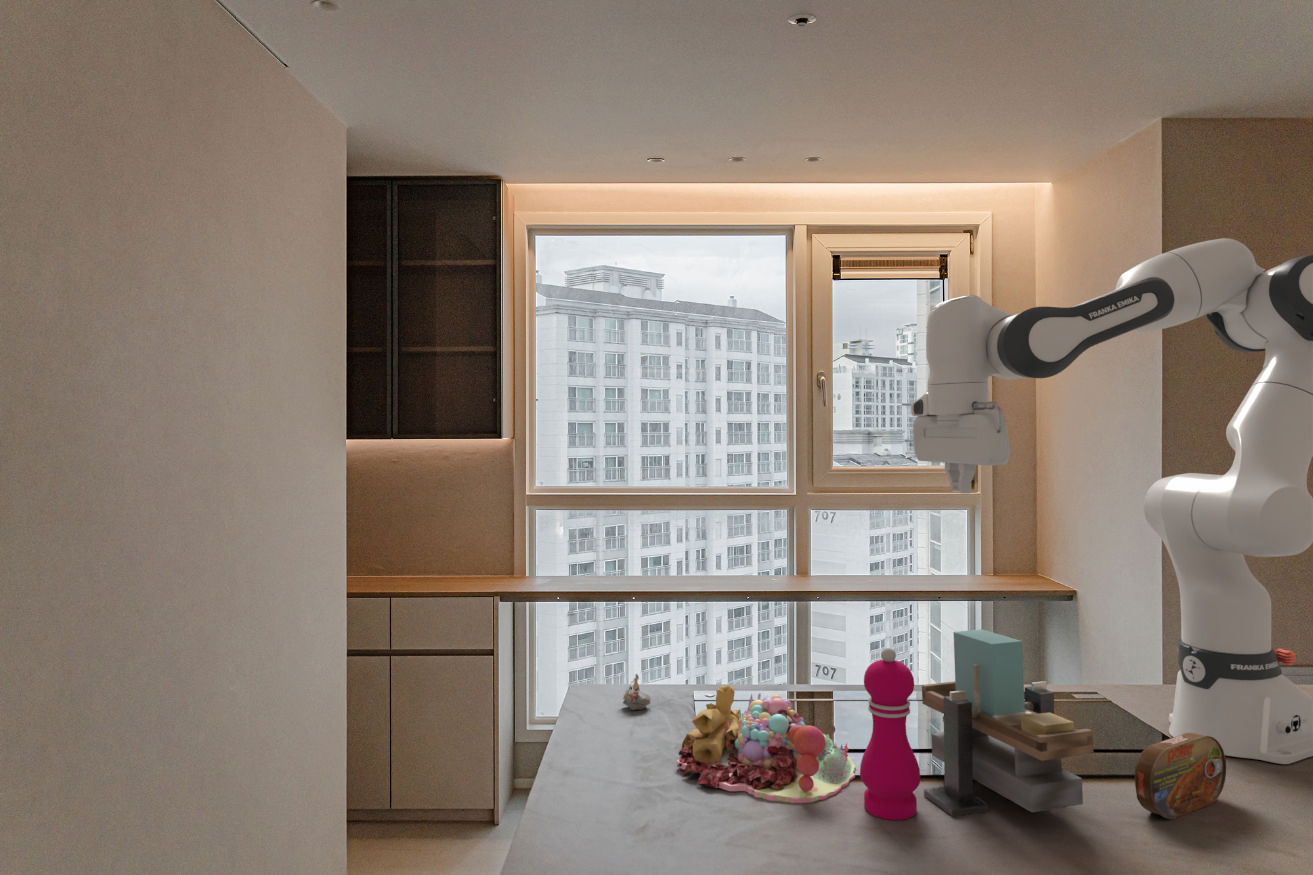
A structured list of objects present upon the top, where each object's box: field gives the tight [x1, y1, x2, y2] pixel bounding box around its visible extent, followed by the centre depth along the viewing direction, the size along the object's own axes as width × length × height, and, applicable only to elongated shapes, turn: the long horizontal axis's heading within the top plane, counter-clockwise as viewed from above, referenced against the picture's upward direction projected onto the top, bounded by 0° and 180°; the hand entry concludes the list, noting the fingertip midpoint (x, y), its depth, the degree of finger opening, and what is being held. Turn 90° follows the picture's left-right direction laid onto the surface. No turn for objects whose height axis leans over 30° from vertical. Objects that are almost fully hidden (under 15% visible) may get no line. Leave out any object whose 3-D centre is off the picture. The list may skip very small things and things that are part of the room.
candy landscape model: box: [676, 684, 857, 804], centre depth 122 cm, size 25×24×9 cm
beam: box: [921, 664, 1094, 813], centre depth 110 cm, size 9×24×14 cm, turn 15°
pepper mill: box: [859, 647, 921, 821], centre depth 107 cm, size 7×7×20 cm
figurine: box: [622, 673, 652, 711], centre depth 146 cm, size 5×4×6 cm
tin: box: [1134, 733, 1227, 820], centre depth 106 cm, size 15×3×8 cm, turn 117°
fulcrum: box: [923, 680, 1055, 817], centre depth 110 cm, size 18×6×14 cm, turn 105°
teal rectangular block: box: [953, 628, 1025, 717], centre depth 112 cm, size 4×8×10 cm, turn 15°
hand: (960, 492), depth 133 cm, fingers closed
